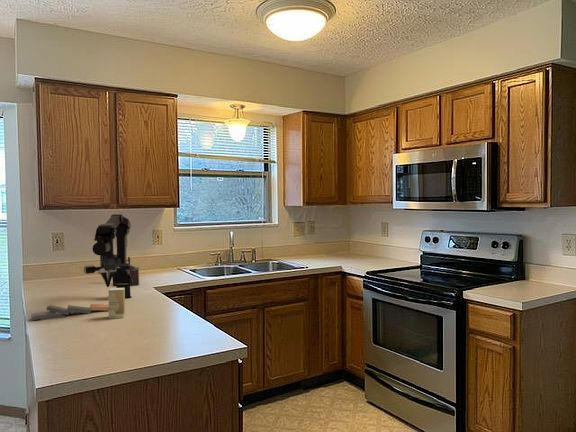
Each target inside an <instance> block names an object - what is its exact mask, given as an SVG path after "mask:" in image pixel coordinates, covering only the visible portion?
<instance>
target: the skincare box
mask: <svg viewBox="0 0 576 432" xmlns="http://www.w3.org/2000/svg"><path fill="white" fill-rule="evenodd" d="M125 299H126V298H125V288H116V287H113V288H111V287H109V289H108V305H109V311H108V319H120V318H121V319H122V318H125V316H126V314H125V312H126V308H125V307H126V305H125V302H126V300H125Z"/></svg>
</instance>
